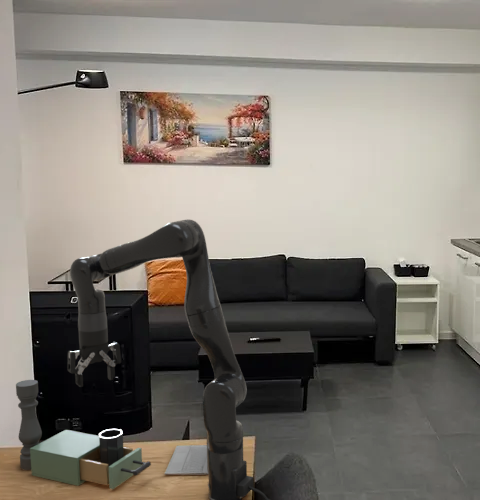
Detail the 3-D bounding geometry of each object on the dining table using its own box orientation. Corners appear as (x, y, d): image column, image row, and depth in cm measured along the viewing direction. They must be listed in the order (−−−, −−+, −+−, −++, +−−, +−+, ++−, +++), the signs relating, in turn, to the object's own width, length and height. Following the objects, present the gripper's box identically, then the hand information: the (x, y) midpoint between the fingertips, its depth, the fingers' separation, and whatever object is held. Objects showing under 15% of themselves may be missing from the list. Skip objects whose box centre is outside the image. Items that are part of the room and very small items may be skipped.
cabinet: (112, 464, 191) (110, 438, 190) (78, 486, 179) (76, 458, 177) (67, 454, 197) (66, 429, 196) (31, 475, 184) (29, 448, 183)
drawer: (158, 472, 185) (157, 451, 184) (129, 493, 173) (128, 471, 172) (98, 459, 192) (97, 439, 191) (67, 479, 180) (66, 457, 180)
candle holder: (34, 471, 187) (29, 387, 183) (15, 468, 188) (9, 386, 184) (48, 461, 193) (43, 380, 189) (30, 459, 194) (24, 378, 190)
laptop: (176, 447, 202) (175, 407, 200) (217, 447, 203) (216, 407, 201) (164, 476, 184) (162, 432, 183) (208, 475, 185) (208, 431, 183)
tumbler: (128, 465, 186) (127, 430, 185) (113, 475, 181) (112, 439, 179) (110, 461, 188) (109, 427, 187) (95, 471, 183) (94, 436, 181)
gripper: (72, 334, 174) (75, 392, 176) (123, 325, 184) (125, 380, 186) (61, 328, 179) (65, 385, 182) (112, 320, 189) (114, 373, 191)
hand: (95, 382), depth 184 cm, fingers open, 8 cm apart
